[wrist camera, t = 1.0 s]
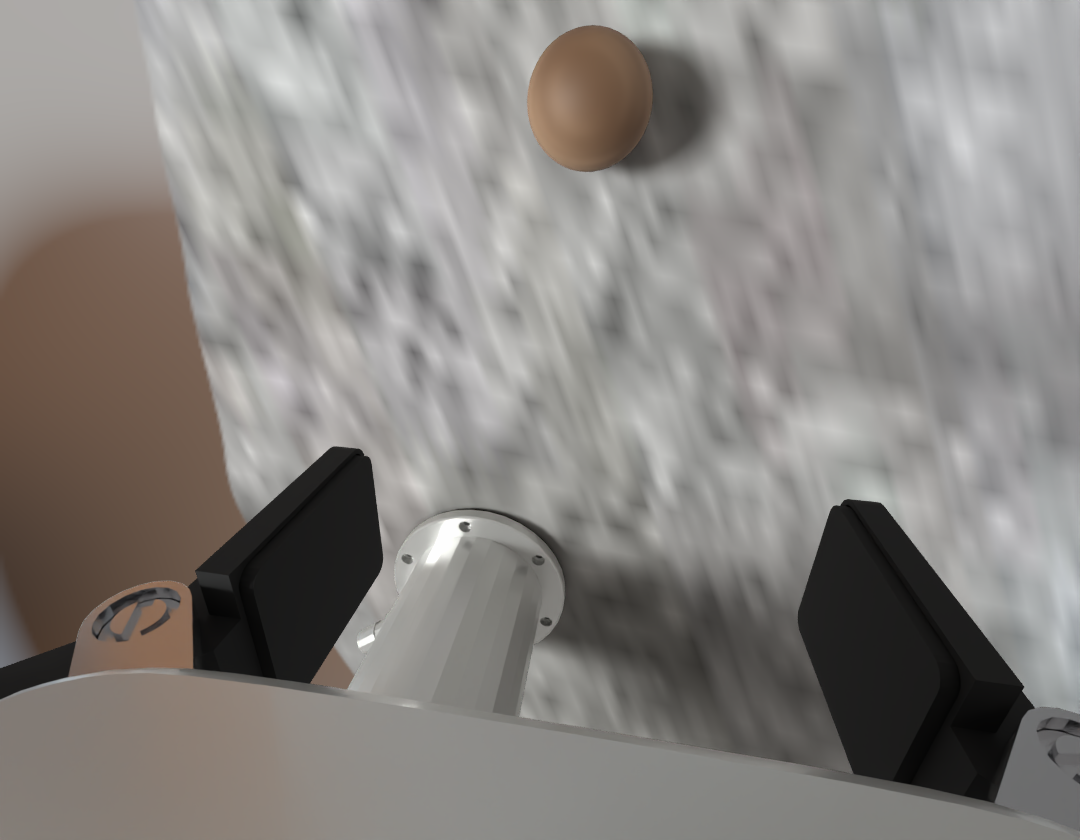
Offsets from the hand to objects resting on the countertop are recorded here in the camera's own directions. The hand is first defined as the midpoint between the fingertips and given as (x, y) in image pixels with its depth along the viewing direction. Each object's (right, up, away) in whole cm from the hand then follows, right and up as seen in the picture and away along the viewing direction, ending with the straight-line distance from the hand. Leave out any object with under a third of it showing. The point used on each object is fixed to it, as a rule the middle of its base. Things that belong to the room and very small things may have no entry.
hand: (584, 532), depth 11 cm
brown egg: (+1, +16, +12) cm, 21 cm away
